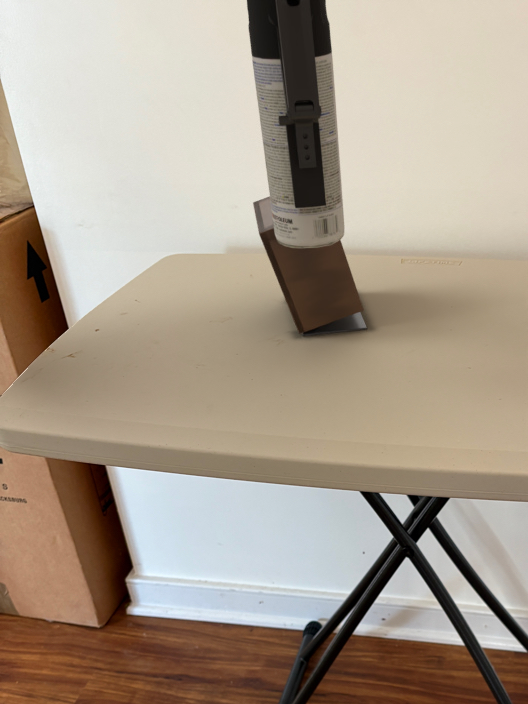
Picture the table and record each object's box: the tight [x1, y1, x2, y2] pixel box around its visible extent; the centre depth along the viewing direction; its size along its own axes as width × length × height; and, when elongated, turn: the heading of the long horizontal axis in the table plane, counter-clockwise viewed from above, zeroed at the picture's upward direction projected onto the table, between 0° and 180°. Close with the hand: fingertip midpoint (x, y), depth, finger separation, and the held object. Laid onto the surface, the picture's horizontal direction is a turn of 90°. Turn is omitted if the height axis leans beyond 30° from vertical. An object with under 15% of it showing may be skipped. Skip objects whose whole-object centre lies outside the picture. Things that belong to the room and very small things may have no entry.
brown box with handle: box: [252, 195, 365, 335], centre depth 86 cm, size 8×12×21 cm, turn 12°
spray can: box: [246, 0, 345, 248], centre depth 66 cm, size 7×7×20 cm
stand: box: [301, 311, 368, 338], centre depth 93 cm, size 8×12×1 cm, turn 12°
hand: (305, 194), depth 70 cm, fingers closed on spray can, 7 cm apart
